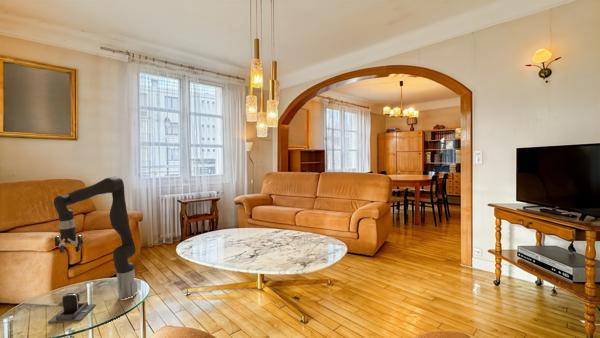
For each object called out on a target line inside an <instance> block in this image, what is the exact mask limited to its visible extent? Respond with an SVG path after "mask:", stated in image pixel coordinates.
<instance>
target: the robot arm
mask: <svg viewBox="0 0 600 338" xmlns="http://www.w3.org/2000/svg"><path fill="white" fill-rule="evenodd" d="M124 183H125V182H124V181H123V179H122V178H121V177H120V176H116V175H115V176H109V177H105V178H104V179H102V180H100V181H98V182H96V183H95V184H92V185H89V186H86V187H83V188H79V189H76V190H74V191H73V190H72V192H69V193H66V194H62V195H56V197H54V199H53V205H54V208H55V210H56V212H57V214H58V228H59V235H57V236H55V237H54V246H55V247H58V248H59V253H60V254H63V253H65V246H64V245H65V244H72V245H73V246H74V247H75V253H78V252H79V251H80V250H81V247H80V246H81V245H83V244H84V242H83V241H84V240H83V235H82V234H79V235H77V234H76V233H77V230H76V228H77V227H76V222H75V221H76V220H75V217H74V216H75V215H74V210H73V209H71V208H70V209H68V206H71V205H74V204H76V203H80V202H83V201H85V200H89V199H90V198H93V197H94V196H95V197H96V196H99V195H104V194H105V195H106V194H111V195H112V196H111V197H112V204H111V206H110V209H109V221H110V225H111V227H112V228H113V230H114V231H115V232H116V233H117V234H118V235H119V237H120V241H121V245H119V246H117V247H115V248H114V249H113V251H112V259H113V265H114V268H115V270H116V281H117V294H118V299H119V300H120V299H125V298H128V297H131V296H134V294H135V293H136V292H137V293H138V283H137V278H135V275H136V274H135V266H134V265H135V264H134V263H133V262H129V259H130V258H131V257H133V256H135V254H136V245H135V241H134V238H133V235H132V231H131V226H130V221H129V220H130V219H129V214H128V210H127V209H128V208H127V205H126V204H127V203H126V199H125V197H126V195H125V184H124Z"/></svg>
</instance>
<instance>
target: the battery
mask: <svg viewBox="0 0 600 338" xmlns="http://www.w3.org/2000/svg"><path fill="white" fill-rule="evenodd" d="M78 303H80V295H79V293H78V292H68V293H66V294H65V295H63V296H62V307H63V308H64V315H70V314H74V313H75V312H76V311H77V310H78V309H79V307H78ZM63 308H62V309H63Z"/></svg>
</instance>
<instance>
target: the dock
mask: <svg viewBox="0 0 600 338" xmlns="http://www.w3.org/2000/svg"><path fill="white" fill-rule="evenodd" d="M96 306H97V304H96V303H94V304H93V303H91V304H89V302H86V301H85V302H78V307H79V309H78V310H77V311H76V312H75V313H74V314H70V315H64V308H62V309H61V310H59V311H58V312H57V313H56V314H55V315H54V316H52V317H51V318H50V319H49V320H48V321H47V324H48V323H49V324H59V323H75V322H81V321H82V320H83V319H84V318H85V317H86V316H87V315H88V314H89V313H90V312H91V311H93V309H94V308H95V307H96Z"/></svg>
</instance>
